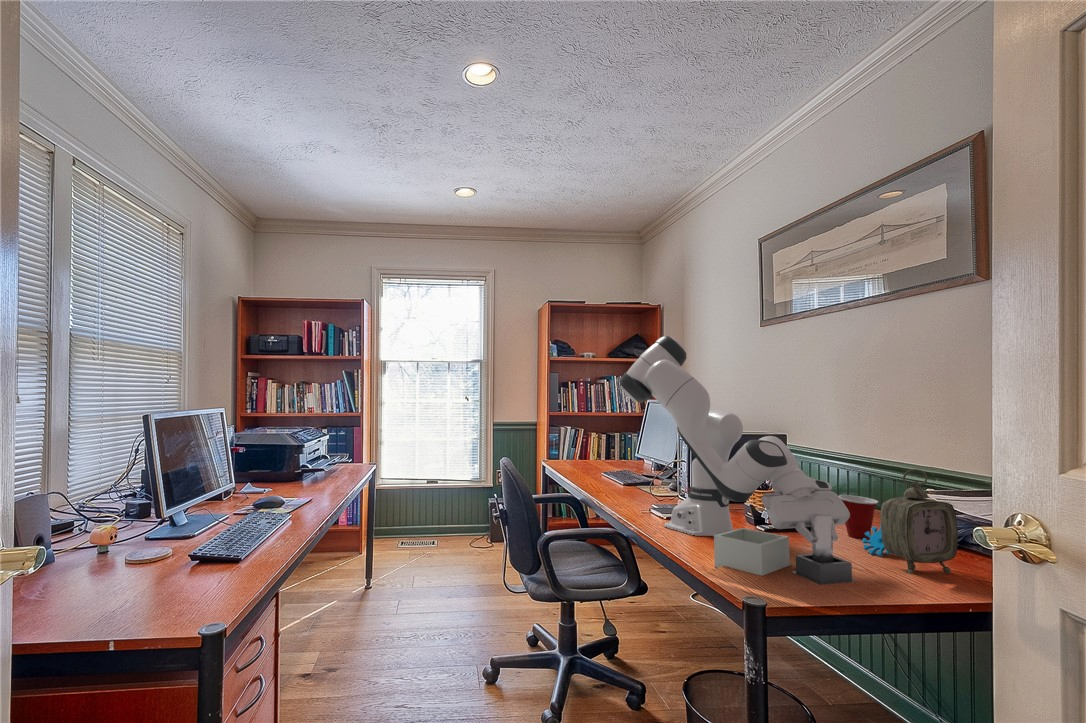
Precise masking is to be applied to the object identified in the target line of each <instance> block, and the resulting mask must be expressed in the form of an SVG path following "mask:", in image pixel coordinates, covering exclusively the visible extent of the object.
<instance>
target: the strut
mask: <svg viewBox="0 0 1086 723" xmlns="http://www.w3.org/2000/svg"><path fill="white" fill-rule="evenodd" d="M810 528H811V530H810V531H811V533H812V532H814V534H815V536H816V537H817V540H816V541H815V542H813V543H811V551H812V553H811V554H812V556H813V561H815V562H818V563H820V564H822V563H833V556H834V543H833V542H834V541H833V539H832V516H830V515H826V514H811V527H810Z"/></svg>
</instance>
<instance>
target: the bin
mask: <svg viewBox="0 0 1086 723" xmlns="http://www.w3.org/2000/svg"><path fill="white" fill-rule="evenodd" d="M713 547H714V553H713V554H714V568H715V567H717V568H716V569H718V568H721V567H726V568H731V569H734V570H738V571H742V572H746V573H749V574H754V575H757V576H765V575H767V574H771V573H773V572H776V571H778V570H781V569H785V568H786V567H789V566H791V564H790V563H791V562H790V559H791V558H790V537H789V536H787V535H782V534H776V533H771V532H766V531H760V530H755V529H750V528H746V527H740V528H737V529H733V530H732V531H729V532H725V533H721V534H718V535H714V536H713Z"/></svg>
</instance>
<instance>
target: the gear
mask: <svg viewBox="0 0 1086 723" xmlns="http://www.w3.org/2000/svg"><path fill="white" fill-rule="evenodd" d="M871 531H872V532H873V533H870V532H869V531H868V532H866V533H865V535H866V536H867V537H869V540H868V539H866V538H863V539H861V542H862V543H863V549H864V550H865V551H868V553H869V554H870V555H872V556H874V554H876V555H877V556H878V557H883V555H884V552H885V553H886V554H887V555H892V554H891V553H889V552H887V550H886V549H885V547H884V545H883V541H882V535H881V524H880V525H879V530H878V527H876V526H872V527H871ZM868 544H869V545H868Z"/></svg>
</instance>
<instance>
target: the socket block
mask: <svg viewBox="0 0 1086 723" xmlns="http://www.w3.org/2000/svg"><path fill="white" fill-rule="evenodd" d="M852 564H853V563H852V561H849V560H846V559H843V558H842V557H841V558H840V557H838V556H836V555H833V563H822V564H820V563H818V562H815V561H813V556H812V553H807V554H795V571H794V570H793V571H792V570H791V573H793V574H795V575H798V576H800V577H801V578H804V579H806V580H809V581H811V582H813V583H814V584H817V585H820V586H822V585H823V586H824V585H830V584H831V585H832V584H842V583H843V584H844V583H853V582H858V580H856V579H854V578H853V569H852V568H853V567H852Z"/></svg>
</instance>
